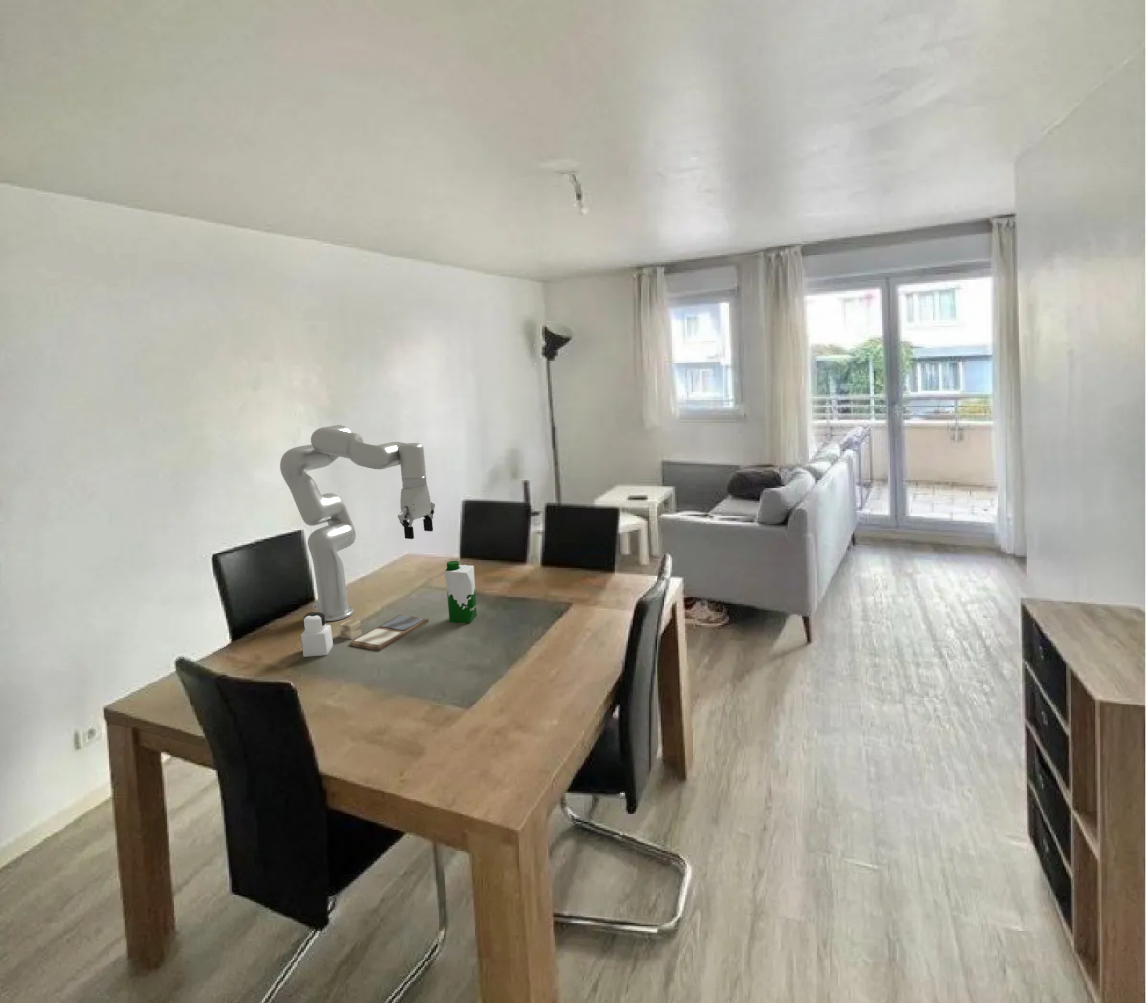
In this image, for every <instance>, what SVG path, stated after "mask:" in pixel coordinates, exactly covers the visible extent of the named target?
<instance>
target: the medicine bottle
mask: <svg viewBox="0 0 1146 1003" xmlns="http://www.w3.org/2000/svg"><path fill="white" fill-rule="evenodd" d="M326 622H327V621H325V615H324V614H323V613H319V612H318V611H316V612H311V613H308V614H306V615H304V617H303V624H304V626H303V627H304V630H303V632H302V633H301V634H300V643H301V649H302V656H303V658H309V657H319V656H320V657H322V656H323V657H325V656H328V654H329V653H330V651H331V650H332V648H333V647H334V642H333V640H334V639H333V634H332V626H331V624H327V623H326Z"/></svg>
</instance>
